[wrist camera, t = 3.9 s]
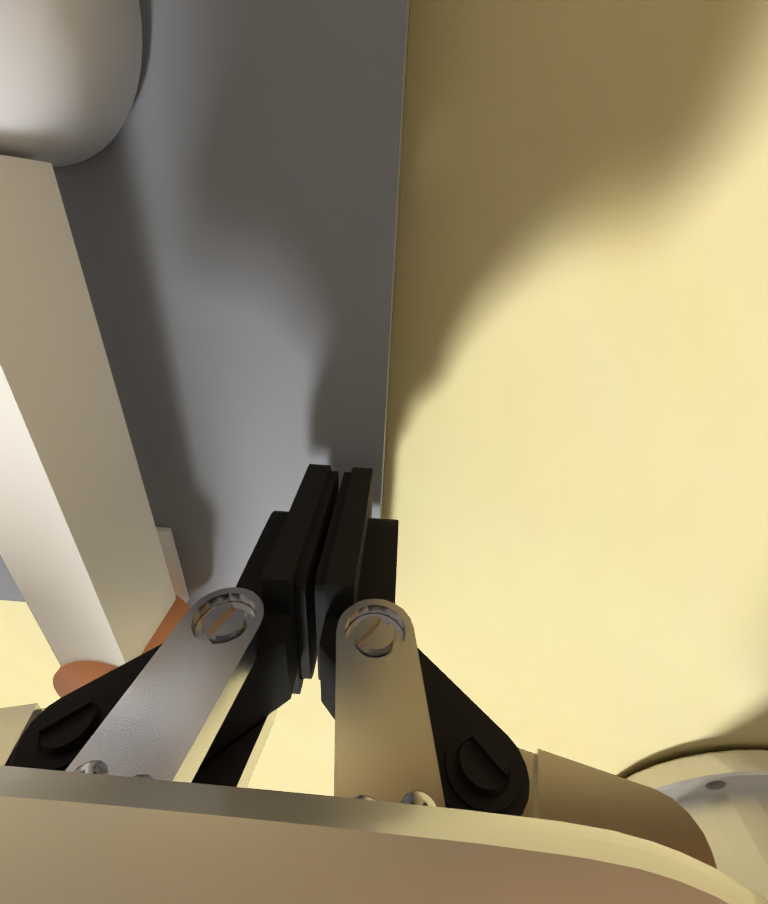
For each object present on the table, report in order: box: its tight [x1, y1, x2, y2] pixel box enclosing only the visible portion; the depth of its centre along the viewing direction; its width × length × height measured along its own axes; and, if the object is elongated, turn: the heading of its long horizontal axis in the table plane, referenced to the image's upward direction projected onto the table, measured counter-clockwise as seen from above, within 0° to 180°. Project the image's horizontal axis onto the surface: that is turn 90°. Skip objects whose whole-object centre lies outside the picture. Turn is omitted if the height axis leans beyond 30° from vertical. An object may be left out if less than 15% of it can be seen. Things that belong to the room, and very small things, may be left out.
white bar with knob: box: [0, 0, 191, 698], centre depth 8 cm, size 5×18×5 cm, turn 177°
